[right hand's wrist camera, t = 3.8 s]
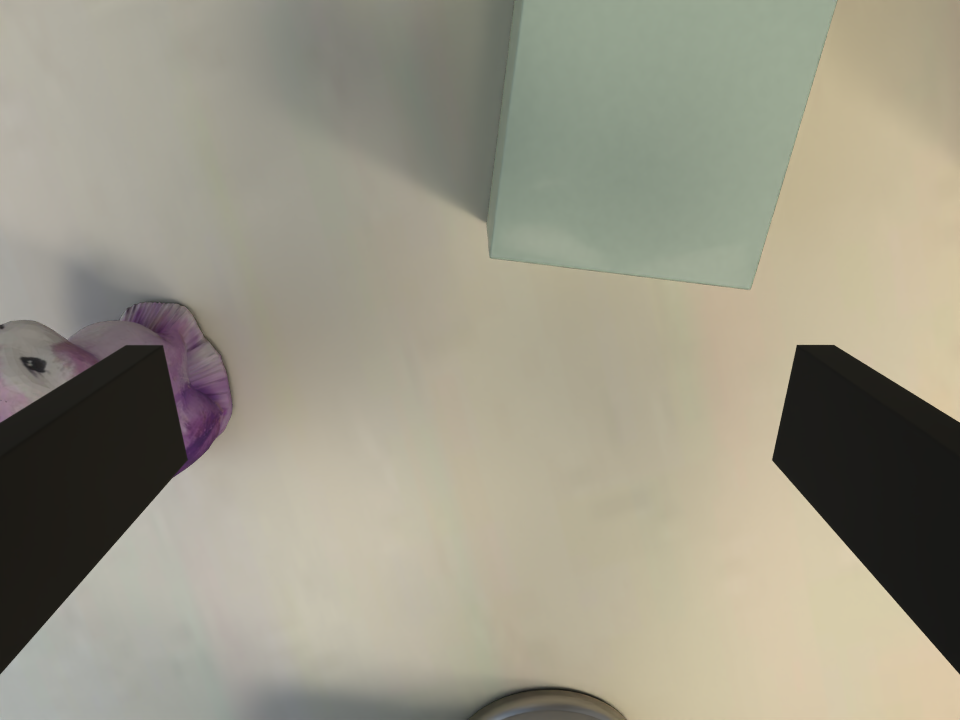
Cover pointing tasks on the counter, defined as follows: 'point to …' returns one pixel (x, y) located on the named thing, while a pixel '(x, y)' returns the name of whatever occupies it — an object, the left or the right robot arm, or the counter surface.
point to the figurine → (55, 360)
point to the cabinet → (650, 133)
